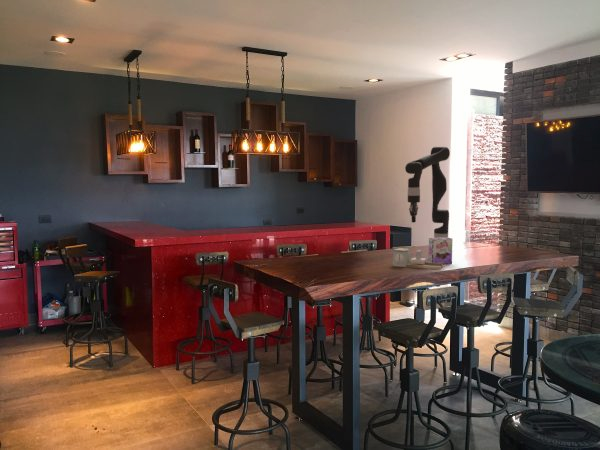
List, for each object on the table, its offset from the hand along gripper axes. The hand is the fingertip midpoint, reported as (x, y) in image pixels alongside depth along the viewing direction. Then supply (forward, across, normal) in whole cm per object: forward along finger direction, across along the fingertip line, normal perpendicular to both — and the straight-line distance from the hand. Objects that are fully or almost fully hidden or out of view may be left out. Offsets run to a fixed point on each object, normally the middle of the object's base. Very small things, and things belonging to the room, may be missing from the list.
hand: (413, 222), depth 316 cm
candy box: (+27, +10, -14) cm, 32 cm away
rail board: (+26, -8, -9) cm, 29 cm away
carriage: (+24, -8, -5) cm, 26 cm away
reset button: (+20, -8, +5) cm, 22 cm away
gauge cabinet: (+26, -8, +5) cm, 28 cm away
